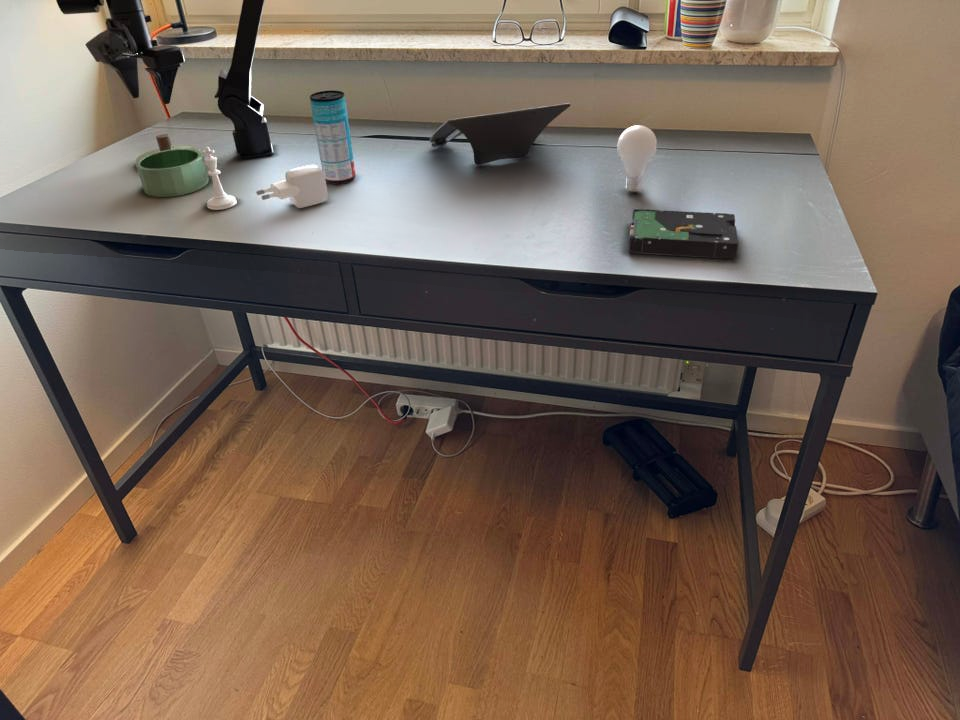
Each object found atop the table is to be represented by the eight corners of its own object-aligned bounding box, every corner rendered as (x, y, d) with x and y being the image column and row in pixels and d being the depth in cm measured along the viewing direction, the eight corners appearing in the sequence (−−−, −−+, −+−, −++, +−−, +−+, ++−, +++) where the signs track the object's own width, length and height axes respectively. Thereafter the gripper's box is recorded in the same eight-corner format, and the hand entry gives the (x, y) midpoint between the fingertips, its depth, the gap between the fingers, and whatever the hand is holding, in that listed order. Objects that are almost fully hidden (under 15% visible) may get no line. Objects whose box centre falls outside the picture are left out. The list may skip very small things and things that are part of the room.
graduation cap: (534, 163, 152) (527, 118, 150) (577, 143, 130) (569, 90, 128) (428, 179, 146) (420, 133, 145) (455, 162, 124) (445, 107, 123)
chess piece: (210, 199, 126) (195, 143, 121) (239, 197, 127) (225, 141, 121) (204, 210, 122) (188, 152, 117) (233, 208, 123) (219, 150, 117)
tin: (189, 170, 140) (182, 144, 137) (220, 183, 133) (213, 156, 130) (133, 187, 133) (124, 161, 130) (162, 202, 126) (154, 174, 124)
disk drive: (731, 230, 108) (630, 224, 111) (734, 213, 106) (632, 207, 109) (736, 261, 100) (627, 254, 103) (739, 243, 98) (629, 236, 101)
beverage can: (362, 175, 133) (350, 91, 125) (344, 186, 129) (331, 100, 120) (335, 171, 135) (322, 89, 127) (317, 182, 131) (302, 98, 123)
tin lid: (183, 147, 152) (176, 122, 149) (213, 159, 144) (207, 133, 142) (126, 163, 144) (117, 138, 142) (155, 177, 137) (146, 150, 134)
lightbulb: (654, 186, 123) (661, 121, 117) (649, 200, 118) (656, 133, 112) (617, 183, 125) (622, 119, 119) (610, 197, 120) (615, 131, 114)
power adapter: (268, 219, 118) (260, 185, 115) (258, 210, 122) (250, 176, 118) (331, 202, 123) (325, 169, 120) (320, 194, 126) (314, 161, 123)
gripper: (53, 14, 127) (83, 105, 136) (118, 22, 119) (146, 118, 127) (109, 5, 135) (134, 91, 144) (174, 11, 126) (196, 103, 135)
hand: (151, 100), depth 137 cm, fingers open, 9 cm apart
